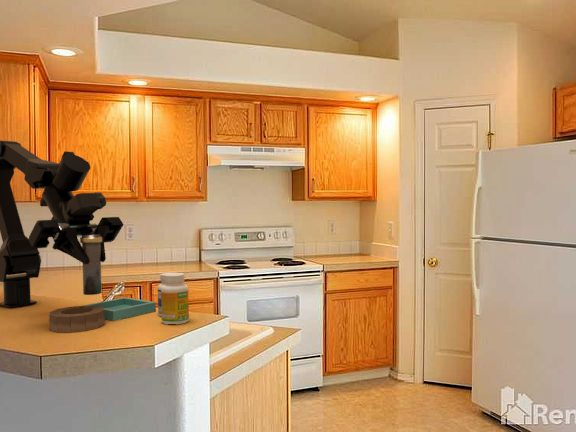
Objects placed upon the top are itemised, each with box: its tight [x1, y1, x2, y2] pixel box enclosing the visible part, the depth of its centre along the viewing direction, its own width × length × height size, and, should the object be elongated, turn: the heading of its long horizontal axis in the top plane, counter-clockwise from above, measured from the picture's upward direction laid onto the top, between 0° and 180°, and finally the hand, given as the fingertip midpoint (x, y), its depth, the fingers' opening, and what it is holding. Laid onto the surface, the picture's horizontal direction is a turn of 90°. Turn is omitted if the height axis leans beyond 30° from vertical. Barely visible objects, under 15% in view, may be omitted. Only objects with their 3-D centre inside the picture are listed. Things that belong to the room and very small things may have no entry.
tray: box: [81, 296, 157, 322], centre depth 115 cm, size 11×11×2 cm
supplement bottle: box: [161, 272, 190, 325], centre depth 106 cm, size 5×5×10 cm
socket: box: [48, 305, 106, 333], centre depth 104 cm, size 10×10×3 cm
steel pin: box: [79, 234, 103, 296], centre depth 107 cm, size 4×4×12 cm
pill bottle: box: [157, 271, 175, 317], centre depth 113 cm, size 5×5×9 cm
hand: (95, 261), depth 106 cm, fingers closed on steel pin, 3 cm apart
